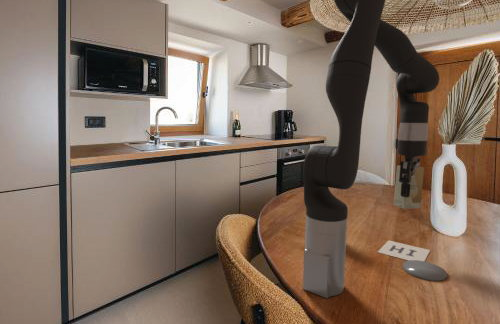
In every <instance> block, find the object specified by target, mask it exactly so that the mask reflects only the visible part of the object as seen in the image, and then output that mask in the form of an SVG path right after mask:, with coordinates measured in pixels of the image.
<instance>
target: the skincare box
mask: <svg viewBox="0 0 500 324" xmlns="http://www.w3.org/2000/svg"><path fill="white" fill-rule="evenodd" d="M405 170H407V169H405ZM410 173H412V171H410ZM395 174H396V175H395V186H394V195H393V206H395V207H398V208H401V209H403V210H407V209H421V204H422V198H423V197H422V194H423V186H424V177H425V167H422V166H419V167H417V169H416V170H415V175H414V177H413V178H412V180H411V185H410V196H409V197H402V196H401V184H402V183H401V182H399V176H400V165H397V166H396V173H395ZM404 178H407V176H405V177H404Z"/></svg>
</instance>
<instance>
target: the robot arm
mask: <svg viewBox="0 0 500 324" xmlns="http://www.w3.org/2000/svg"><path fill="white" fill-rule="evenodd" d="M333 2H334V4H335V6H336V8H337V9H338V10H339V12H340V13H341V15H342V16H343V17H344V18H346V19H347V20H348V21H349V22H350V24H349V26H348V27H347V29H346V31H345V33H344V34H343V36H342V37H341V39H340V41H339V42H338V44H337V46H336V47H335V49H334V51H333V53H332V55H331V58H330V60H329V63H328V69H327V75H326V82H325V92H326V96H327V99H328V101H329V103H330V106H331V108H332V109H333V111H334V114H335V116H336V119H337V121H338V129H339V130H338V131H339V133H338V135H339V136H338V143H337V146H333V145H332V146H331V145H313V146H311V147H310V148H309V149H308V150H307V152H306V154H305V156H304V160H303V171H302V172H303V174H302V175H303V203H304V207H305V232H304V233H305V238H304V240H305V241H304V250H303V266H302V267H303V270H302V272H303V273H302V289H303V290H304V291H308V292H310V293H312V294H315V295H318V296H319V297H322V298H325V299H329V297H333V296H334V297H335V296H338V295H340V294H342V293H343V292H344V289H345V287H344V286H345V275H346V274H345V270H346V249H347V247H346V246H347V230H348V214H349V213H348V210H349V209H348V205H347V204H346V203H345V202H344V201H342V200H341V199H339V198H338V197H336V196H335V195H334V194H333V193H332V192H331V190H330V188H332V189H338V190H348V189H350V188H351V187H352V186H353V185H354V183H355V181H356V178H357V176H358V169H359V161H360V151H361V137H362V136H361V135H362V125H363V117H364V111H365V103H366V99H367V93H368V88H369V84H370V79H371V78H370V77H371V74H372V73H371V70H372V63H373V55H374V51H375V48H376V49H377V50H378V51H379V53H380V54H381V56H382V57H383V59H384V60H385V61H386V63H387V64H388V66H389V67H390V69H391V70H392V71H393V72H394V73H396V74H398V76H397V78H396V82H395V85H396V87H395V88H396V92H397V95H398V96H397V97H398V100H399V106H400V120H399V127H398V132H397V133H398V134H397V135H398V136H397V146H396V147H397V148H396V149H397V151H396V153H397V155H398V156H403V160H401V161H400V163H399V164H400V165H399V166H400V176H399V182H401V183H402V184H401V196H402V197H409V196H410V185H411V180H412V178H413V177H414V175H415V170H416V169H417V167H421V163H420V162H421V157H425V156H427V150H428V149H427V148H428V138H429V124H428V123H429V113H430V111H429V110H430V106H429V103H427V102H424V101H418V100H417V99H416V96H415V94H416V95H417V94H425V93H426V94H427V93H430V92H433V91H434V90H435V89H437V87H438V86H439V83H440V74H439V72H438V69H437V68H436V67H435V65H433V63H431V62H430V61H429V60H427V59H426V58H425V57H424V56H423V55H421V54H420V53H418V51H417V50H416V48H415V46H414V45H413V42H411V40H410V38H409V37H408V35H407V34H405V32H404V31H403V30H401V29H400V28H398V27H396V26H394V25H392V24H390V23H389V22H386V21H385V20H382V19H381V18H382V16H383V11H384V8H385V4H386V0H333ZM418 157H420V158H418ZM405 169H407V170H405ZM410 171H412V173H410ZM405 176H407V178H404V177H405ZM329 190H330V191H329Z"/></svg>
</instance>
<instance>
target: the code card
mask: <svg viewBox="0 0 500 324" xmlns="http://www.w3.org/2000/svg"><path fill="white" fill-rule="evenodd" d="M430 252H431V250H430V249H426V248H423V247H418V246H413V245H409V244H406V243H402V242H397V241H393V240H390V239H389V240H387V241H386V242H385V243H384V245H383V246H381V248H380V249H379V250H378V251H377V253H379V254H381V255H386V256H390V257H394V258H398V259H401V260H405V261H409V260H418V261H425V262H426V259H427V257H428V256H429V253H430Z"/></svg>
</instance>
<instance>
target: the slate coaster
mask: <svg viewBox="0 0 500 324" xmlns="http://www.w3.org/2000/svg"><path fill="white" fill-rule="evenodd" d="M402 268H403V270H404V272H406V273H407V274H408V275H411V276H413V277H414V278H418V279H422V280H425V281H429V282H433V281H434V282H441V281H444V280H446V279H447V278H448V273H447V271H446V270H445V269H444V268H443V267H441V266H440V265H437V264H435V263H431V262H429V261H426V260H425V261H418V260H409V261H408V260H405V261H404V262H403V263H402Z"/></svg>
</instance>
